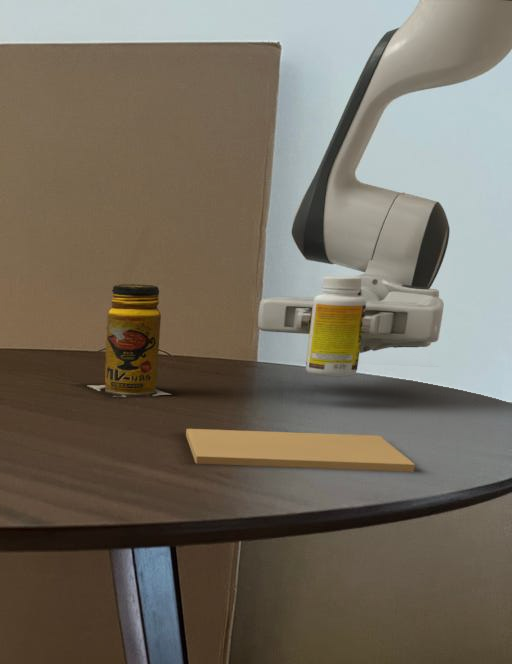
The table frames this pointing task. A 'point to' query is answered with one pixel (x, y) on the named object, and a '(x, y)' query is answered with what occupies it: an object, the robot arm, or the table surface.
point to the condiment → (132, 342)
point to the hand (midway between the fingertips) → (335, 323)
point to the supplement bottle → (336, 328)
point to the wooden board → (296, 450)
